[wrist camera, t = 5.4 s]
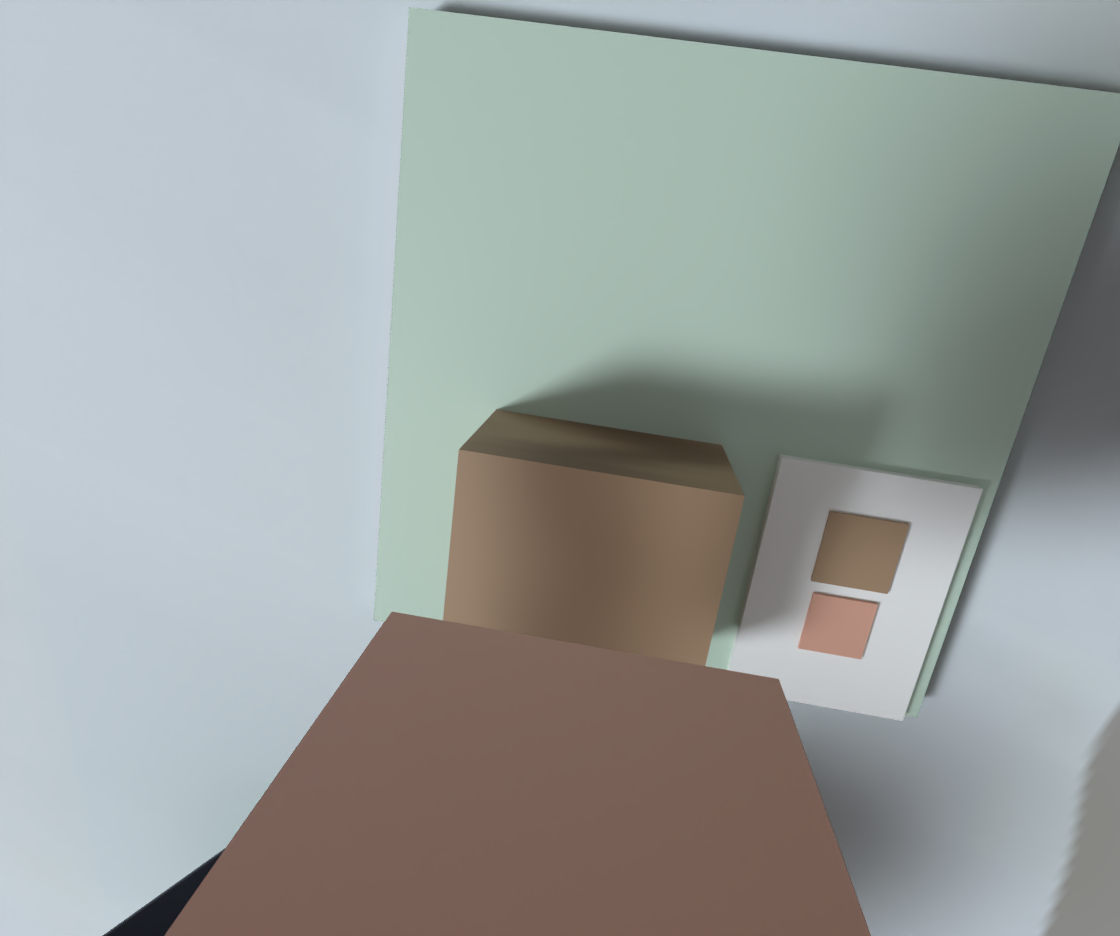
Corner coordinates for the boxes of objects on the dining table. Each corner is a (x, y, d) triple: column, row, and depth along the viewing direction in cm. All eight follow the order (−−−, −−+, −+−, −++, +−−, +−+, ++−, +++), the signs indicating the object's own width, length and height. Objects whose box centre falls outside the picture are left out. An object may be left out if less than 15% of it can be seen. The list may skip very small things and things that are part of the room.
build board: (1111, 103, 15) (1150, 91, 14) (906, 700, 20) (922, 726, 19) (419, 18, 16) (403, 0, 15) (383, 607, 21) (368, 626, 20)
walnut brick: (721, 444, 18) (744, 495, 14) (678, 644, 20) (688, 736, 16) (496, 409, 18) (458, 449, 14) (474, 608, 20) (436, 690, 16)
